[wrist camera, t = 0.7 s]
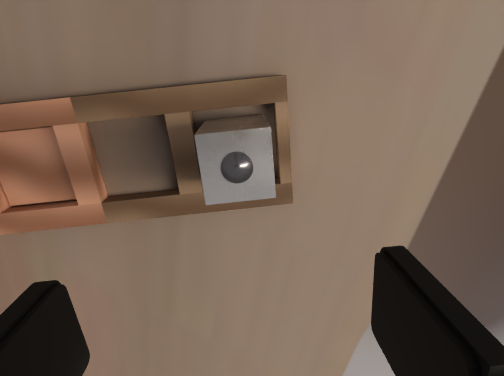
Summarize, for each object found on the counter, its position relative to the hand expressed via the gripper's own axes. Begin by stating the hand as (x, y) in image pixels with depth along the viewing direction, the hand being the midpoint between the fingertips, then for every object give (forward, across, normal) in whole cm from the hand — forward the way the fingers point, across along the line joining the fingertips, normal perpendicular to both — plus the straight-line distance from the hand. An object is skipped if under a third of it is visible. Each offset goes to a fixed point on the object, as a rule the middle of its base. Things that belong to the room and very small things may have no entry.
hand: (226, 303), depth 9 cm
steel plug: (+19, 0, -1) cm, 19 cm away
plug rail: (+19, +9, -1) cm, 21 cm away
